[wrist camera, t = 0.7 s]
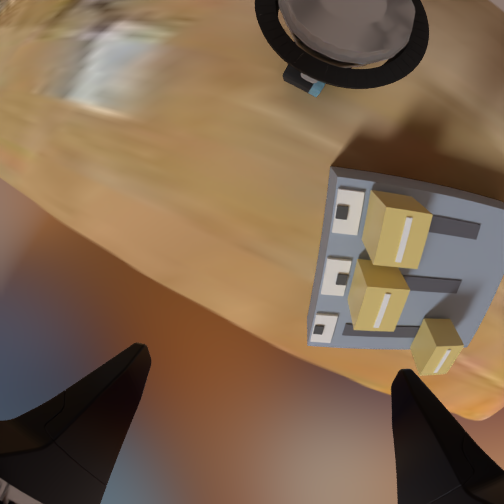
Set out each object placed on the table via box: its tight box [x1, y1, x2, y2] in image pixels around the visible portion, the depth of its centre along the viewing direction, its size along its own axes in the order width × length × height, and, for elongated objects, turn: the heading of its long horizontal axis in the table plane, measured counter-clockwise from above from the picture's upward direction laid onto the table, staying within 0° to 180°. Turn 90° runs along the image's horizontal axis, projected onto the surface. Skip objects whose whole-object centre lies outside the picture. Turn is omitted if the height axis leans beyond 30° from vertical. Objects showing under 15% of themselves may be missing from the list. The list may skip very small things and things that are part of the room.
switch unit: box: [307, 166, 504, 349], centre depth 17 cm, size 14×12×3 cm
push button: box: [255, 0, 429, 97], centre depth 9 cm, size 7×5×10 cm
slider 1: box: [362, 190, 433, 269], centre depth 13 cm, size 2×3×3 cm
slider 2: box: [347, 259, 410, 332], centre depth 15 cm, size 2×3×3 cm
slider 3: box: [410, 318, 464, 376], centre depth 16 cm, size 2×3×3 cm
